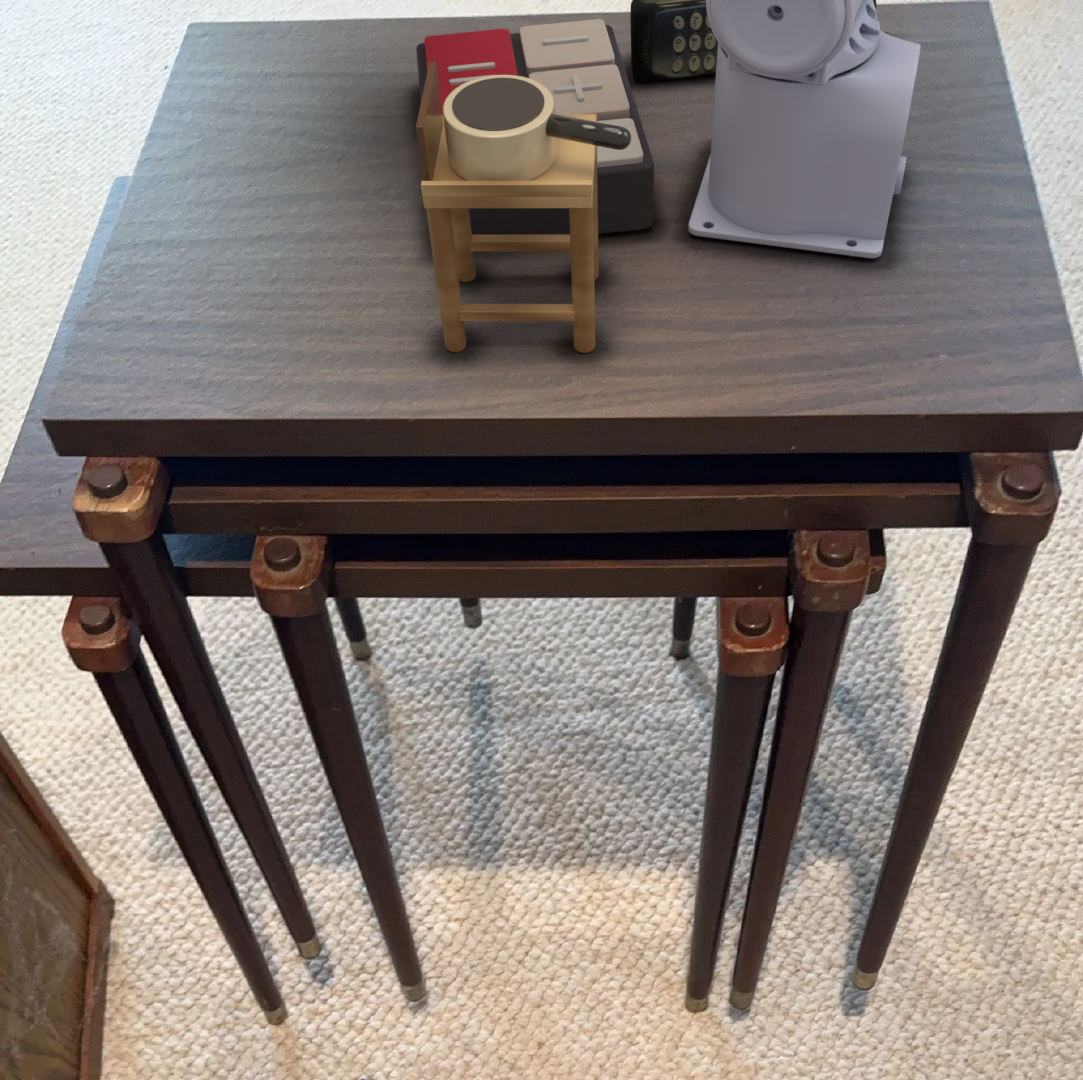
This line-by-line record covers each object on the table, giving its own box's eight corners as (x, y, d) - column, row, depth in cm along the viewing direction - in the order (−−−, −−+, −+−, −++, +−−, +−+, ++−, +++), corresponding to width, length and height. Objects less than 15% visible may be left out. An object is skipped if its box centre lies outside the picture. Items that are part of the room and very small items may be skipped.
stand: (599, 269, 63) (597, 125, 57) (595, 353, 59) (592, 208, 53) (457, 269, 63) (439, 126, 57) (444, 352, 59) (424, 209, 53)
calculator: (611, 8, 71) (656, 152, 61) (612, 81, 74) (654, 229, 64) (413, 28, 71) (426, 176, 61) (423, 100, 74) (436, 252, 64)
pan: (430, 175, 54) (423, 123, 52) (474, 116, 56) (469, 64, 54) (611, 213, 52) (610, 160, 50) (648, 149, 54) (649, 96, 52)
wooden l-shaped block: (597, 125, 57) (596, 52, 54) (592, 208, 53) (591, 134, 50) (439, 126, 57) (430, 53, 54) (424, 209, 53) (413, 135, 51)
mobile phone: (632, 9, 69) (909, -23, 69) (625, -18, 71) (895, -49, 71) (634, 93, 73) (896, 62, 73) (627, 64, 75) (882, 35, 75)
